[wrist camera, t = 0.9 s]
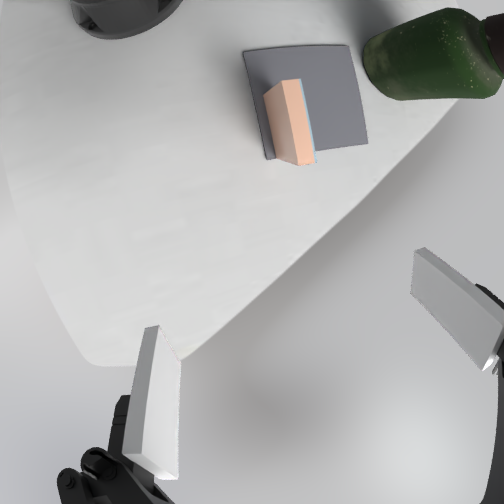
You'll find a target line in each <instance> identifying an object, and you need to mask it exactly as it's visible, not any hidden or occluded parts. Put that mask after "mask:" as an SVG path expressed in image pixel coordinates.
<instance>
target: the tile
mask: <svg viewBox="0 0 504 504" xmlns="http://www.w3.org/2000/svg"><path fill="white" fill-rule="evenodd" d="M263 97H264V102H265V106H266V111H267V115H268V120H269V125H270V129H271V134H272V139H273V144H274V149H275V154H276V158H277V159H280V160H283V161H286V162H289V163H292V164H295V165H298V166H301V165H306V164H311V163H317V159H316V153H315V147H314V141H313V136H312V130H311V125H310V120H309V115H308V110H307V105H306V100H305V96H304V91H303V87H302V82H301V79H292V80H283V81H280V82H279V83H278V84H276V85H275V86H274V87H273V88H271V89H270V90H269V91H268V92H266V93H265V94H264V95H263Z"/></svg>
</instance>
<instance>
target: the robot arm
mask: <svg viewBox="0 0 504 504" xmlns="http://www.w3.org/2000/svg"><path fill="white" fill-rule="evenodd" d="M70 2H71V7H72V11H73V15H74V18H75V20H76V22H77V23H78V25H79V26H80V27H81V28H82V29H83V30H85V31H86V32H87V33H89V34H90V35H92V36H94V37H97V38H101V39H122V38H127V37H131V36H134V35H137V34H140V33H142V32H144V31H147V30H149V29H151V28H152V27H154V26H156V25H158V24H159V23H161V22H162V21H163V20H165V19H166V18H167V17H168V16H170V15H171V14H172V13H173V12H174V11H175V10H176V9H177V7H178V6H179V5H180V3H181V2H182V0H70ZM412 274H413V275H412V284H411V295H412V296H413V297H414V298H415V299H416V300H417V301H419V303H420V304H421V305H422V306H424V308H425V309H426V310H427V311H428V312H429V313H430V314H431V315H432V316H433V317H434V318H435V319H436V320H437V321H438V322H439V323H440V324H441V325H442V327H443V328H444V329H445V330H446V331H447V332H448V333H449V334H450V335H451V336H452V337H453V339H454V340H455V341H456V342H457V343H458V344H459V345H460V346H461V348H462V349H463V350H464V351H465V352H466V353H467V354H468V356H469V357H470V358H471V359H472V360H473V361H474V363H475V364H476V365H477V366H478V367H479V369H480V370H481V371H483V370H484V369H485V368H487V367H488V366H489V365H491V364H492V362H493V360H494V358H495V356H496V354H497V355H498V356H499V357H500V358H499V360H498V362H497V364H496V365H495V367H494V369H493V371H492V374H494V373H495V371H496V370H497V368H498V372H497V375H498V415H497V428H496V437H495V445H494V452H493V459H492V465H491V470H490V475H489V479H488V484H487V488H486V492H485V495H484V498H483V500H482V502H481V503H480V504H504V303H503V302H502V301H501V300H500V299H498V297H496V296H495V295H493V294H492V293H491V292H490V291H489V290H488V289H487V288H485V287H483V286H481V285H479V284H475V285H474V284H473V283H471V282H470V281H469V280H468V279H467V278H465V277H464V276H462V275H461V274H460V273H459V272H457V271H456V270H455V269H454V268H452V267H451V266H450V265H448V264H447V263H446V262H444V261H443V260H442V259H440V258H439V257H437V256H436V255H435V254H433V253H432V252H430V251H429V250H428V249H427V248H425V247H424V248H421V249H418V250H416V251H414V261H413V273H412ZM180 372H181V362H180V361H179V359H178V357H177V355H176V354H175V352H174V350H173V349H172V347H171V345H170V343H169V342H168V340H167V338H166V336H165V335H164V333H163V331H162V329H161V327H160V325H157V326H153V327H148V328H145V331H144V335H143V339H142V343H141V348H140V352H139V357H138V361H137V366H136V371H135V376H134V381H133V386H132V392H131V395H122V396H121V397H120V399H119V401H118V402H117V404H116V406H115V412H114V418H113V422H112V425H113V426H112V427H111V433H110V439H109V445H108V451H105V450H104V449H102V448H99V447H93V448H91V449H89V450H87V451H86V452H85V453H84V454H83V456H82V459H81V469H82V471H83V472H81V473H79V472H78V471H76V470H74V469H71V468H65V469H63V470H62V471H61V472H60V473H59V475H58V478H57V486H58V490H59V495H60V499H61V503H62V504H175V503H174V502H172V500H171V499H170V498H169V497H167V495H166V494H165V493H164V492H163V491H162V490H161V489H160V488H159V486H158V485H157V484H155V483H154V476H156V477H157V478H159V479H161V480H173V479H179V477H178V476H179V475H178V426H179V393H180Z"/></svg>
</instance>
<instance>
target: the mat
mask: <svg viewBox="0 0 504 504" xmlns="http://www.w3.org/2000/svg"><path fill="white" fill-rule="evenodd" d="M243 55H244V60H245V64H246V68H247V72H248V76H249V81H250V85H251V89H252V94H253V98H254V102H255V107H256V111H257V116H258V121H259V125H260V130H261V135H262V139H263V144H264V149H265V154H266V158H267V160H271V159H276V154H275V149H274V144H273V139H272V134H271V129H270V125H269V120H268V115H267V111H266V106H265V102H264V97H263V95H264V94H265V93H266V92H268V91H269V90H270V89H271V88H273V87H274V86H275V85H276V84H278V83H279V82H280V81H283V80H292V79H301V82H302V87H303V91H304V96H305V100H306V105H307V110H308V115H309V120H310V125H311V130H312V136H313V141H314V147H315V151H320V150H327V149H333V148H340V147H348V146H355V145H363V144H368V138H367V131H366V125H365V119H364V113H363V107H362V102H361V97H360V92H359V87H358V82H357V78H356V73H355V69H354V65H353V61H352V57H351V53H350V49H349V46H299V47H284V48H273V49H264V50H256V51H248V52H243Z"/></svg>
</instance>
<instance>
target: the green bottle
mask: <svg viewBox="0 0 504 504" xmlns="http://www.w3.org/2000/svg"><path fill="white" fill-rule="evenodd" d="M364 66H365V69H366V71H367V73H368V76H369V78H370V80H371V81H372V83H373V84H374V85H375V86H376V87H377V88H378V89H379V90H380V91H381V92H382V93H383V94H384V95H386V96H387V97H389V98H392V99H395V100H400V101H404V100H418V99H442V98H473V99H485V98H487V97H490V96H493V95H495V94H496V92H497V91H498V89H499V88H500V85H501V83H502V80H503V79H504V13H502V14H498V15H493V16H489V17H487V18H486V19H483V20H482V21H479V20H478V19H477V18H475V17H474V16H473V15H471V14H470V13H468V12H466V11H464V10H462V9H457V8H444V9H441V10H438V11H435V12H432V13H429V14H427V15H424V16H421V17H419V18H416V19H413V20H411V21H408V22H406V23H403V24H401V25H399V26H396V27H394V28H392V29H389V30H387V31H385V32H383V33H381V34H378V35H376V36H374V37H373V38H371V39H370V40H369V41H368V43H367V44H366V45H365V48H364Z"/></svg>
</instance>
